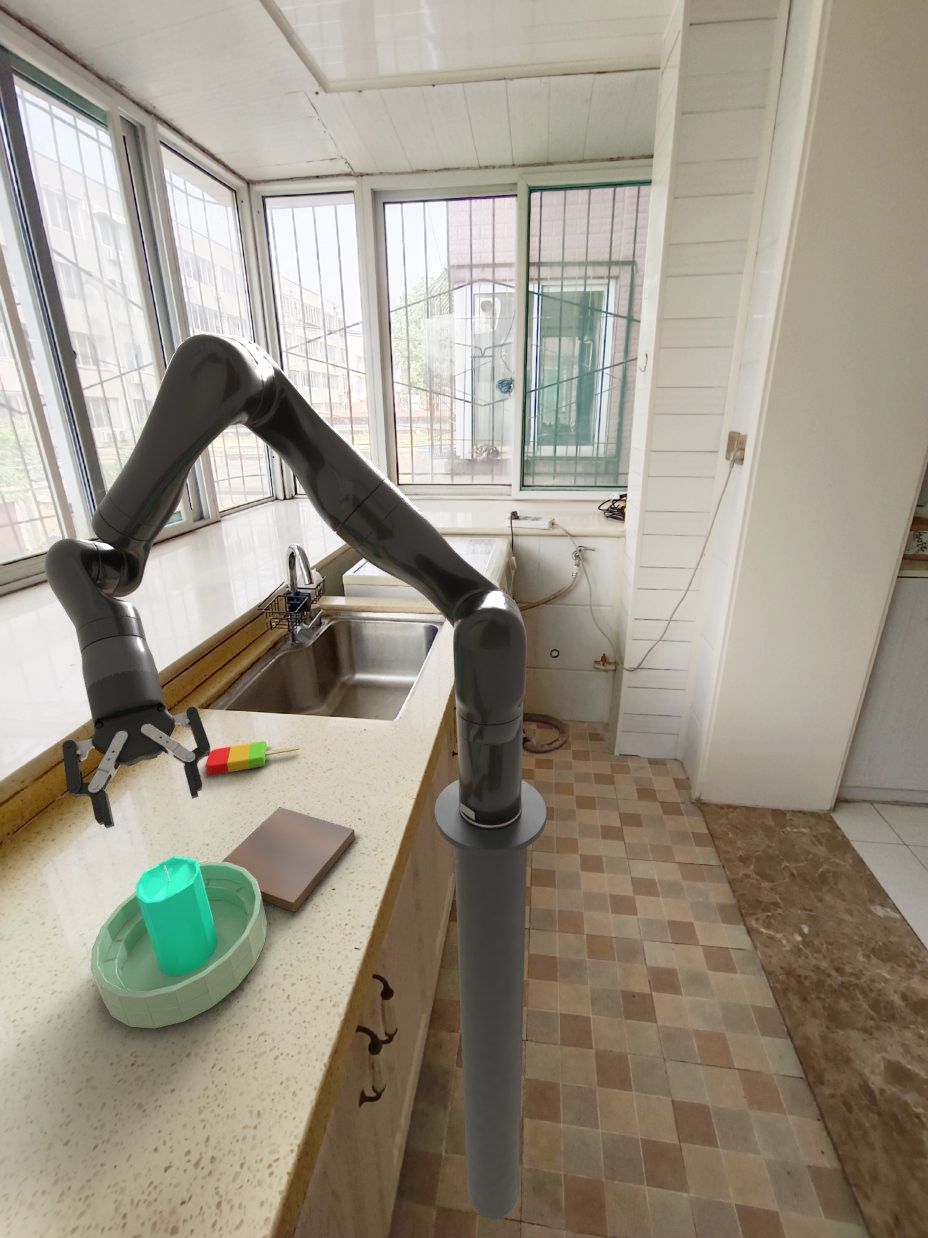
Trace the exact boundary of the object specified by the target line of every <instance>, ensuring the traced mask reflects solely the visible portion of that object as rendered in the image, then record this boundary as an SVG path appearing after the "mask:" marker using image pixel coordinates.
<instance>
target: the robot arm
mask: <svg viewBox="0 0 928 1238" xmlns="http://www.w3.org/2000/svg"><path fill="white" fill-rule="evenodd" d="M238 425H242V426H243V427H245V428H246V429H248V430H249V431H250V432H251V433H252V434H254V435H255V436H256V437H257V438H259V439H260V440H261V441H262V442H263V443H264V444H266V445H267V447H269V448H270V449H271V450H272V451H273V452H275V453H276V455H278V456H279V457H280V459H282V460H283V462H284V463H285V464H286V465H287V466H288V468H289V469H290V471H291V472H292V473H293V475H294V476H295V478H296V480H297V481H298V483H299V485H300V487H301V488H302V490H303V491H304V493H305V495H306V497H307V498H308V500H309V502H310V503H311V505H312V507H313V508H314V510H315V512H316V513H317V514H318V516H319V518H321V520H322V521H323V522H324V523H325V524H326V525H327V527H328V528H329V529H331V530H332V532H333V533H335V535H336V536H338V537H339V538H340V539H341V541H343V542H344V543H346V545H348V546H349V548H351V550H353V551H354V552H355V553H356V554H358V555H359V556H360V557H361V558H362V559H364V560H365V561H367V562H368V563H369V564H370V565H373V566H374V567H376V568H377V569H378V570H380V571H382V572H384V573H386V574H388V575H390V576H392V577H393V578H395V579H398V580H399V581H401V582H403V583H404V584H407V585H408V586H410V587H412V589H415V590H416V591H417V592H419V593H420V594H421V595H423V597H425V598H426V599H427V600H428V601H429V602H430V603H431V604H432V605H433V606H434V607H435V609H437V610H438V611H439V613H441V615H442V616H443V617H444V618H445V619H446V620H447V621H448V623H449V624H450V625H451V627H452V628H453V635H452V637H453V638H452V639H453V640H452V651H453V652H452V653H453V675H454V676H453V677H454V679H453V680H454V697H455V712H456V740H457V742H456V744H457V772H458V780H459V813H460V815H461V817H462V818H463V819H464V821H466V822H467V823H468V824H470V825H471V826H473V827H476V828H479V829H484V830H498V829H503V828H506V827H508V826H510V825H512V824H513V823H515V822H516V821H517V820H518V819H519V817H520V815H521V812H522V802H521V792H522V780H523V739H524V738H523V737H524V736H523V735H524V734H523V733H524V730H523V729H524V699H525V695H526V689H527V687H526V684H527V683H526V682H527V661H528V660H527V659H528V641H527V640H528V638H527V637H528V636H527V630H526V626H525V623H524V619H523V616H522V612H521V610H520V608H519V606H518V605H517V602H515V600H514V599H512V597H511V596H510V595H509V594H507V593H506V592H505V591H504V590H502V589H501V588H500V587H498V586H497V585H496V584H495V583H493V582H492V581H491V580H490V579H488V577H486V576H484V575H483V574H482V573H481V572H480V571H478V570H477V569H476V568H474V567H473V566H472V565H471V564H470V563H469V562H468V561H466V560H465V559H464V558H463V557H462V555H460V554H459V553H458V552H457V551H456V550H455V549H454V548H453V547H452V546H451V545H450V543H448V541H447V540H446V539H445V537H443V535H442V534H441V532H439V530H437V528H436V527H435V526H434V525H433V524H432V523H431V522H430V521H429V519H427V518H426V516H425V515H424V514H423V513H422V512H421V511H420V510H419V509H418V508H417V507H416V506H415V504H413V502H412V501H411V500H410V499H409V498H408V497H407V496H406V495H405V494H404V493H403V492H402V491H401V490H400V489H399V488H398V487H397V486H396V485H395V484H394V483H393V482H392V481H391V480H390V479H389V478H388V477H387V476H386V475H385V474H384V473H383V472H381V471H380V470H379V469H378V468H377V467H376V466H375V465H374V464H373V463H372V462H370V460H368V458H367V457H365V456H364V454H362V453H361V452H360V451H359V450H358V449H357V448H356V447H355V446H354V445H353V444H352V443H351V442H350V441H348V439H346V437H344V436H343V435H342V434H341V433H340V432H338V431H337V430H336V429H335V428H334V427H333V426H331V425H330V424H329V423H328V422H327V420H325V419H324V418H323V417H322V416H321V414H320V413H318V411H317V410H316V409H315V408H314V407H313V406H312V405H311V403H310V402H309V401H308V400H307V399H306V398H305V396H304V395H303V394H302V393H301V392H300V390H299V389H298V387H296V386H295V384H294V383H293V382H292V381H291V380H290V379H289V377H288V376H287V375H286V373H285V372H284V371H283V370H282V369H281V368H280V366H279V365H278V363H276V362H275V360H274V359H273V358H272V357H271V356H270V355H269V353H267V352H266V350H264V349H263V348H262V347H261V346H259V345H258V344H257V343H255V342H253V341H252V340H250V339H247V338H244V337H242V336H240V335H239V336H238V335H232V334H224V333H214V332H213V333H212V332H204V333H197V334H194V335H191V336H189V337H187V338H185V340H183V341H182V342H181V343H180V344H179V345H178V346H177V348H176V349H175V351H174V353H173V354H172V356H171V359H170V361H169V362H168V365H167V367H166V370H165V373H164V375H163V378H162V380H161V383H160V386H159V389H158V391H157V395H156V396H155V399H154V402H153V405H152V407H151V410H150V412H149V415H148V417H147V419H146V421H145V424H144V426H143V429H142V431H141V433H140V436H139V437H138V440H137V442H136V444H135V446H134V448H133V449H132V452H131V453H130V455H129V457H128V459H127V461H126V463H125V464H124V466H123V468H122V469H121V471H120V473H119V474H118V476H117V477H116V479H115V480H114V481H113V483H112V484H111V486H110V488H109V490H108V491H107V492H106V494H105V495H104V497H103V499H102V500H101V501H100V503H99V505H98V506H97V508H96V509H95V511H94V513H93V515H92V518H91V521H90V522H91V523H90V524H91V528H92V531H93V533H94V534H95V535H96V537H97V538H98V539H99V540H100V541H101V542H98V541H92V540H88V539H87V540H86V539H82V538H76V537H75V538H74V537H67V538H61V539H60V540H57V541H55V542H54V543H53V544H52V545H51V546H50V547H49V548H48V549H47V552H46V554H45V559H44V575H45V578H46V580H47V583H48V585H49V588H50V589H51V590H52V592H53V594H54V595H55V598H56V599H57V600H58V602H59V604H60V605H61V607H62V609H64V612H65V613H66V615H67V617H68V618H69V620H70V621H71V623H72V625H73V626H74V629H75V632H76V633H75V634H76V638H77V643H78V647H79V651H80V654H81V655H80V656H81V671H82V677H83V682H84V687H85V692H86V697H87V700H88V706H89V709H90V710H89V711H90V714H91V719H92V723H93V728H94V730H93V734H92V737H91V738H87V739H82V740H79V741H78V740H77V741H74V740H73V739H67V740H65V741H64V742H63V743H62V745H61V746H62V747H61V748H62V757H63V764H64V773H65V784H66V791H67V792H68V793H69V794H70V795H72V797H74V798H81V797H88V798H90V802H91V806H92V811H93V816H94V820H95V821H96V822H97V824H98V825H100V826H103V825H104V828H105V829H110V828H113V827H115V821H114V816H113V812H112V807H111V802H110V798H109V794H108V793H107V792H106V791H107V789H108V787H109V785H110V783H111V782H112V780H113V779H114V778H115V776H116V775H117V773H118V770H119V769H120V767H121V766H123V767H124V766H127V767H131V766H135V765H136V764H139V763H140V762H142V761H150V760H154V759H157V758H158V756H160V755H161V754H163V753H164V754H165V755H166V756H168V757H170V758H172V759H173V760H176V761H178V762H179V763H181V764H183V769H184V774H185V778H186V781H187V785H188V789H189V792H190V796H191V800H192V799H196V798H198V797H199V792H201V791H203V781H202V778H201V774H200V770H199V766H198V764H199V762H200V761H201V760H203V759H204V758H208V755H209V754H210V752H211V744H210V741H209V739H208V736H207V733H206V729H205V727H204V725H203V722H202V719H201V716H200V713H199V711H198V708H196V707H195V706H189V707H188V708H187V709H186V711H183V712H180V713H177V714H174V715H172V714H171V713H170V712H169V711H168V708H167V704H166V700H165V696H164V692H163V689H162V684H161V681H160V677H159V673H158V672H159V670H158V668H157V666H156V662H155V658H154V657H153V653H152V651H151V648H150V646H149V645H148V642H147V641H148V640H147V638H146V634H145V633H146V632H145V629H144V626H143V621H142V618H141V615H140V612H139V610H138V609H137V608H136V606H135V605H133V604H132V603H130V602H129V601H126V600H123V599H121V598H125V597H127V596H130V595H131V594H133V593H134V592H136V591H137V590H138V588H140V586H141V584H142V582H143V580H144V575H145V571H146V568H147V567H146V566H147V563H148V559H149V557H150V553H151V550H152V548H153V545H154V542H155V540H157V538H158V536H159V535H160V534H161V532H162V531H163V530H164V529H165V527H166V525H167V524H168V523H169V521H170V520H171V519H172V517H173V515H174V514H175V512H176V511H177V509H178V507H179V505H180V504H181V501H182V498H183V496H184V493H185V489H186V486H187V485H186V484H187V482H188V479H189V477H190V474H191V471H192V470H193V467H194V465H195V464H196V463H197V461H198V459H199V458H200V456H201V455H202V454H203V453H204V451H205V450H206V449H207V448H208V447H209V446H210V445H211V444H212V443H213V442H214V441H215V440H216V439H217V438H218V437H219V436H220V435H222V433H224V432H225V431H226V430H227V429H228V428H229V427H231V426H232V427H233V426H238ZM176 725H180V726H181V727H182V729H183V730H185V731H188V730H190V731H191V733H192V736H193V739H194V742H195V745H196V747H195V748H194V749H192V750H190V749H189V748H186V747H185V746H183V745H182V744H181V743H180V742H178V741H177V740H175V739H174V738H172V737H171V736H172V735H173V733H174V730H175V728H176ZM92 749H95V750H96V751H97V752H99V753H100V754H102V755H103V757H102V759H101V761H100V762H99V765H98V767H97V770H96V772H95V774H94V776H93V778H91V781H90V782H89V781H88V782H85V779H84V771H83V763H82V762H83V761H85V760H87V759H88V757H89V752H90V751H91V750H92Z"/></svg>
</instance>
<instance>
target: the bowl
mask: <svg viewBox="0 0 928 1238" xmlns="http://www.w3.org/2000/svg"><path fill="white" fill-rule="evenodd" d="M198 863H199V867H200V871H201V875H202V878H203V882H204V886H205V890H206V894H207V898H208V902H209V906H210V909H211V913H212V917H213V921H214V925H215V929H216V933H217V939H218V944H217V946H216V949H215V951H214V953H213V955H212V956H211V957H210V958H209V959H208V960H207V961H206V962H205V963H204V964H203V965H202V966H201V967H200V968H198V969H196V970H194V971H191V972H189V973H187V974H185V975H167V974H166V973H165V972H163V971H162V970H161V969H160V968H159V965H158V962H157V959H156V955H155V952H154V949H153V946H152V943H151V940H150V937H149V934H148V931H147V927H146V924H145V921H144V918H143V915H142V912H141V909H140V906H139V903H138V899H137V896H136V890H135V891H134V892H133V893H132V894H130V895H129V896H128V897H127V898H126V899H125V900H123V901H122V902H121V903H120V904H118V906H116V908H115V909H114V911H113V912H112V913H111V914H110V915H109V916H108V918H107V919H106V921H105V922H104V923H103V924H102V926H101V927H100V929H99V931H98V933H97V936H96V938H95V940H94V943H93V945H92V948H91V957H90V971H91V974H92V976H93V979H94V981H95V984H96V987H97V990H98V992H99V995H100V997H101V1000H102V1002H103V1003H104V1005H105V1007H106V1009H107V1011H108V1013H109V1015H110V1017H112V1018H113V1019H115V1020H117V1021H119V1022H121V1023H122V1024H124V1025H127V1027H130V1028H131V1027H132V1028H144V1029H158V1028H162V1027H167V1026H171V1025H174V1024H175V1025H176V1024H179V1023H184V1022H186V1021H189V1020H190V1019H192V1018H193V1017H196V1016H198V1015H200V1014H202V1013H204V1012H206V1011H208V1010H209V1009H211V1008H213V1007H214V1006H216V1005H217V1004H218V1003H219V1002H221V1001H222V1000H223V999H224V998H226V997H227V996H229V994H230V993H232V992H233V991H234V990H235V989H237V988H238V987H239V986H240V984H241V983H242V981H243V980H244V979H245V978H246V977H247V976H248V974H249V973H250V972H251V970H252V969H253V968H254V967H255V965H256V963H257V960H258V958H259V956H260V955H261V952H262V950H263V947H264V945H265V943H266V935H267V927H268V921H267V916H266V911H265V906H264V900H262V896H261V893H260V890H259V886H258V883H257V880H256V879H255V878H254V877H253V876H252V875H251V874H250V873H249V872H248V871H247V870H246V869H245V868H242V867H239V866H237V865H234V864H231V863H228V862H222V861H204V862H198Z"/></svg>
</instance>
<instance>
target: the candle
mask: <svg viewBox="0 0 928 1238" xmlns="http://www.w3.org/2000/svg"><path fill="white" fill-rule="evenodd" d="M199 863H200V862H199V860H196V859H194V858H190V857H184V856H183V857H181V856H176V855H174V856H172V857H170V858H168V859H166V860H164V861H162V862H160V863H157V864H156V865H154V866H153V867H150V868H149V869H146V870H144V872H143V873H142V874H141V876H140V877H139V879H138V881H137V883H136V884H135V891H136V896H137V899H138V903H139V906H140V909H141V912H142V915H143V918H144V921H145V924H146V927H147V931H148V934H149V937H150V940H151V943H152V946H153V949H154V952H155V955H156V959H157V962H158V965H159V968H160V969H161V970H162V971H163V972H165V973H166V974H167V975H185V974H187V973H189V972H191V971H194V970H196V969H198V968H200V967H201V966H202V965H203V964H204V963H205V962H206V961H207V960H208V959H209V958H210V957H211V956H212V955H213V953H214V951H215V949H216V946H217V944H218V939H217V933H216V929H215V925H214V921H213V917H212V913H211V909H210V906H209V902H208V898H207V894H206V890H205V886H204V882H203V878H202V875H201V871H200V867H199Z"/></svg>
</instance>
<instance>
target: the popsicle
mask: <svg viewBox="0 0 928 1238" xmlns="http://www.w3.org/2000/svg"><path fill="white" fill-rule="evenodd" d="M267 749H268V746H267V741H266V740H263V741H256V742H250V743H244V744H238V745H232V746H226V747H220V748H219V747H218V748H215V749H212V750H210V754H209V755H208V756H207V759H206V762H205V770H206V772H207V774H208V775H213V776H214V775H219V774H225V773H233V772H238V771H242V770H243V771H244V770H250V769H255V768H260V767H264V766H265V765H266V758H267V757H266V756H272V755H276V754H277V755H278V754H283V753H288V752H289V753H291V752H295V751H299V750H300V749H301V746H300V745H295V746H288V747H282V748H277V749H270V750H267Z"/></svg>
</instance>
